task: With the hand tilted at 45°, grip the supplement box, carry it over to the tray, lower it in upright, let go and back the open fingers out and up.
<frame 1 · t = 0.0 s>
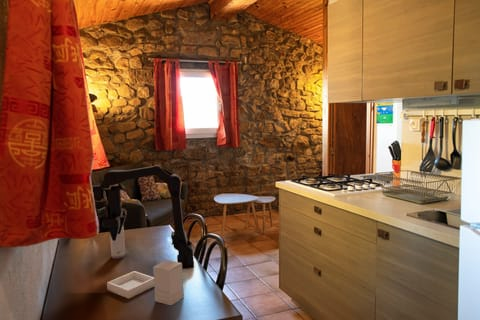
hand: (116, 237, 158), 15 cm above the table, tool pointing down, fingers open, 9 cm apart
supplement box: (169, 299, 133), on the table
tray: (131, 287, 143), on the table
travel mug: (118, 256, 177), on the table
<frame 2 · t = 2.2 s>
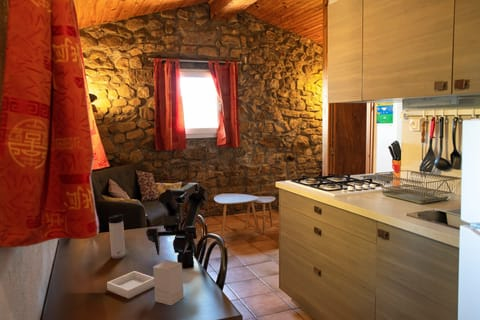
hand: (170, 254, 139), 13 cm above the table, tool tilted 45°, fingers open, 9 cm apart
nothing on the table moved.
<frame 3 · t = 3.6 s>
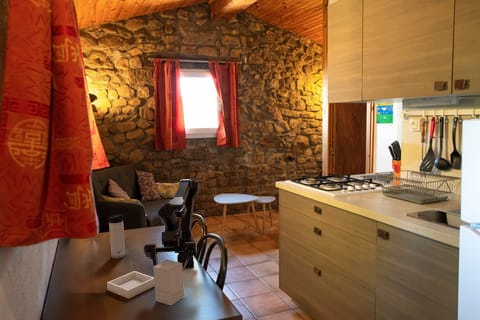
hand: (169, 271, 133), 10 cm above the table, tool tilted 45°, fingers open, 9 cm apart
supplement box: (170, 299, 133), on the table, touching gripper
everything else where it was.
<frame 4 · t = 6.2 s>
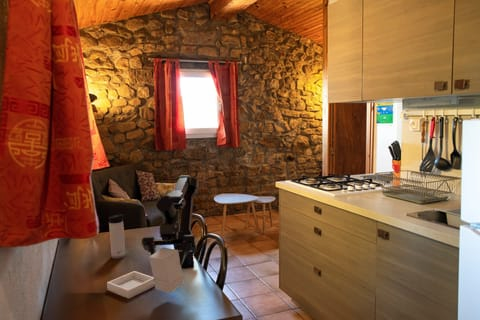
hand: (167, 265, 131), 13 cm above the table, tool tilted 45°, fingers closed on supplement box, 9 cm apart
supplement box: (170, 286, 132), point 5 cm above the table, touching gripper
everything else where it was.
when the fingers open (12 cm above the table, at t = 8.3 s): supplement box drops 2 cm, resting on tray.
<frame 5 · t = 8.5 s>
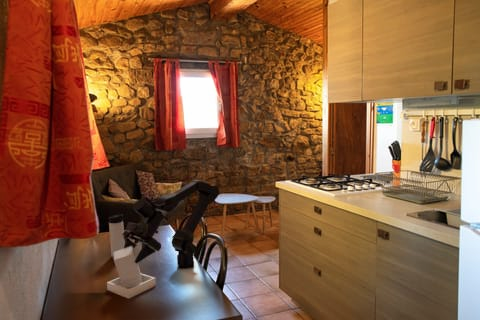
hand: (128, 260, 141), 11 cm above the table, tool tilted 45°, fingers open, 9 cm apart
supplement box: (132, 281, 144), point 2 cm above the table, touching gripper, tray
everything else where it was.
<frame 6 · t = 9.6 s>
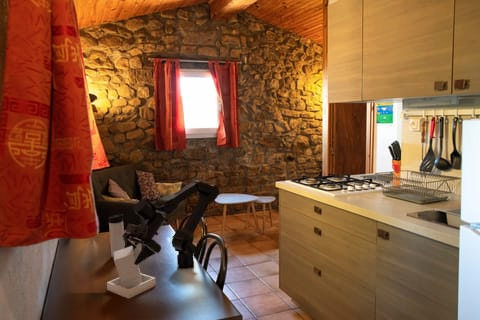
hand: (128, 261, 141), 10 cm above the table, tool tilted 45°, fingers closed on supplement box, 9 cm apart
supplement box: (132, 281, 144), point 2 cm above the table, touching gripper, tray
everything else where it was.
when the fingers open (10 cm above the table, at t = 9.8 s): supplement box stays where it is, resting on tray.
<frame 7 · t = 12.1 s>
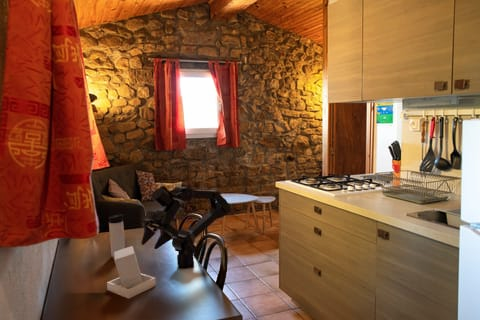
hand: (148, 246, 148), 14 cm above the table, tool tilted 45°, fingers open, 9 cm apart
supplement box: (132, 281, 144), point 2 cm above the table, touching tray
everything else where it was.
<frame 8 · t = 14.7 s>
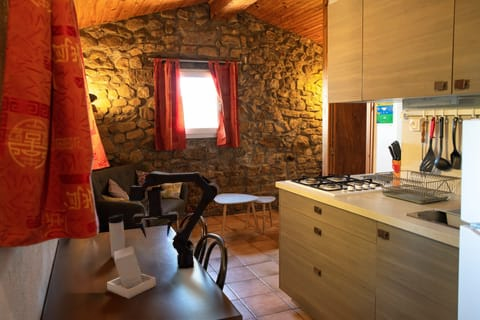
hand: (156, 236, 162), 13 cm above the table, tool pointing down, fingers open, 9 cm apart
nothing on the table moved.
at the end: supplement box 1.2 cm off-centre on the tray, point 1.7 cm above the tray's base; supplement box tilted 14°; the gripper is holding nothing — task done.
